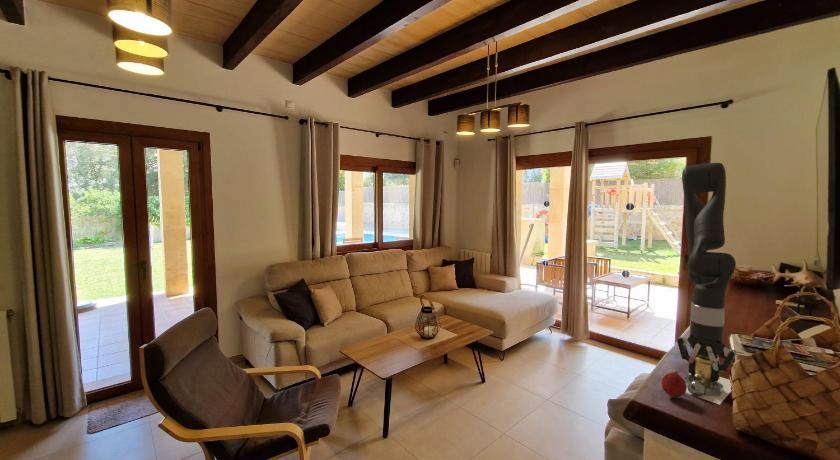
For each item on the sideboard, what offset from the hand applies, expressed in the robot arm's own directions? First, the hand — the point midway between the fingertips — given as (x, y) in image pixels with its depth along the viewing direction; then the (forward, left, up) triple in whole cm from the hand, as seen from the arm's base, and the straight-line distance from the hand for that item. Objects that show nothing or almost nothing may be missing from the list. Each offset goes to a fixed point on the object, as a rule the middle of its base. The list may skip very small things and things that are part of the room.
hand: (703, 378), depth 106 cm
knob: (0, 0, -2) cm, 2 cm away
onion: (+11, -4, -4) cm, 13 cm away
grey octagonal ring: (+2, 0, -3) cm, 3 cm away
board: (-3, 0, -4) cm, 5 cm away
